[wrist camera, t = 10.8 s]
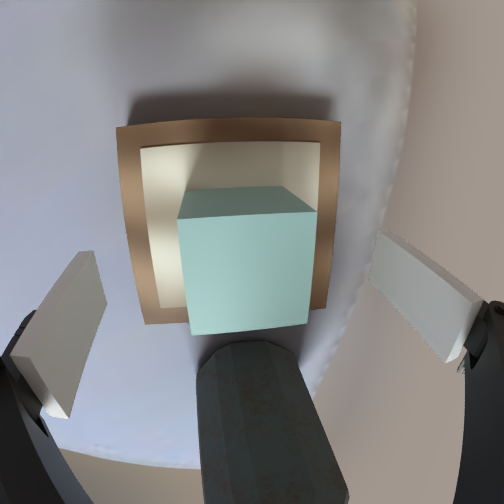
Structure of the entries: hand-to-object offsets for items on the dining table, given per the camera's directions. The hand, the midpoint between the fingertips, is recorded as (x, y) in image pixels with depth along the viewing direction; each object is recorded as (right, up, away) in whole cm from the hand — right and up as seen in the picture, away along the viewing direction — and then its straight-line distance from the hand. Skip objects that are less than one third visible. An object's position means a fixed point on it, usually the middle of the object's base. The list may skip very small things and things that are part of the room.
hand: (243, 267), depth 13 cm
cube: (-1, +2, +6) cm, 6 cm away
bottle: (0, -11, +15) cm, 19 cm away
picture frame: (-1, +3, +8) cm, 9 cm away
